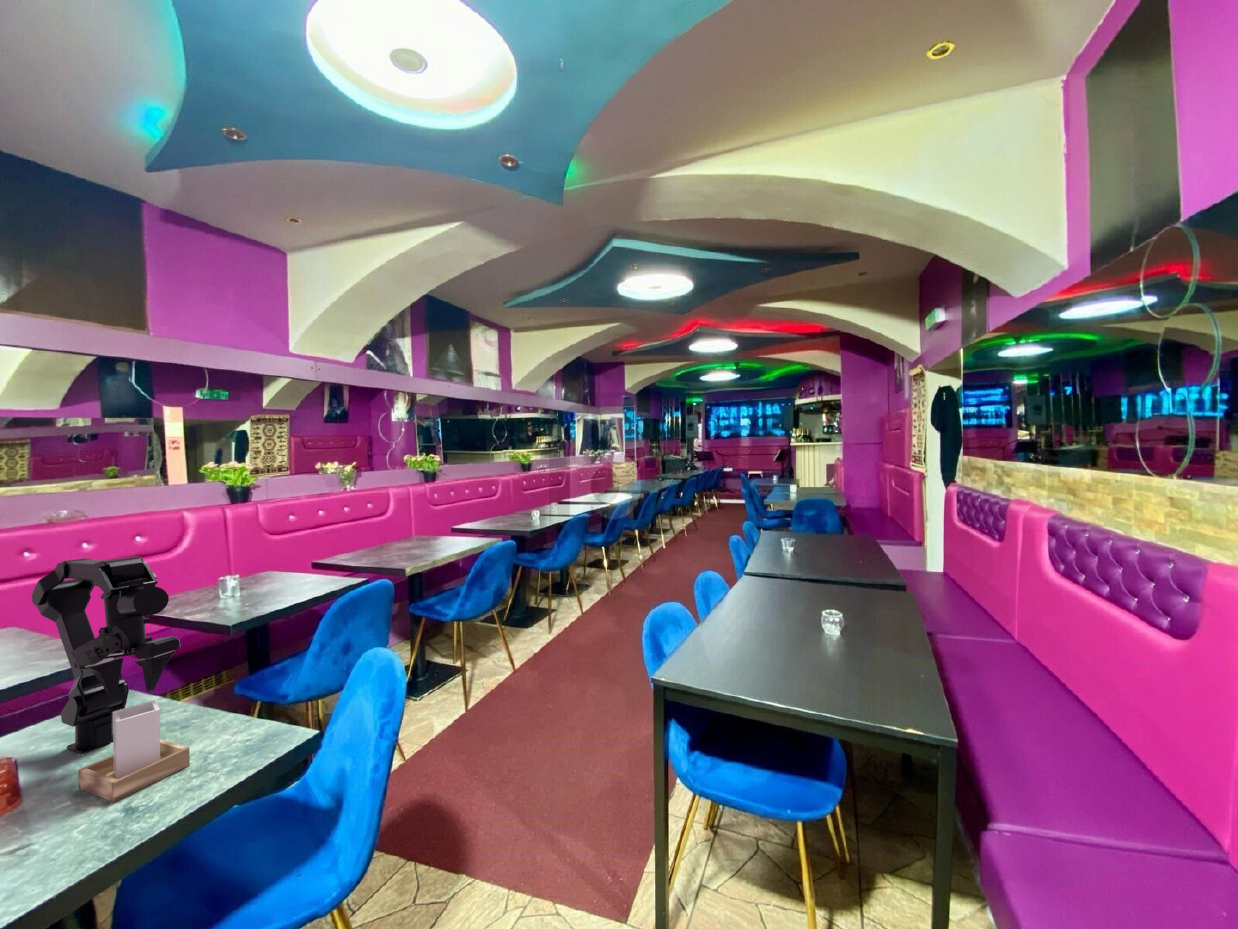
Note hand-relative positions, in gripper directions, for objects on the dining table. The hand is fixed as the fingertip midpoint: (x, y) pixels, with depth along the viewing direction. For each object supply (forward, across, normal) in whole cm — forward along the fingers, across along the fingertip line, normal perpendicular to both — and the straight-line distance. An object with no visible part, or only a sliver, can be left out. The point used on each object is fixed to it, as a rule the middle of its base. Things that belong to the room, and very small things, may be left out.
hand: (131, 693), depth 102 cm
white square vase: (+14, +6, -5) cm, 16 cm away
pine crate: (+15, +6, -5) cm, 16 cm away
